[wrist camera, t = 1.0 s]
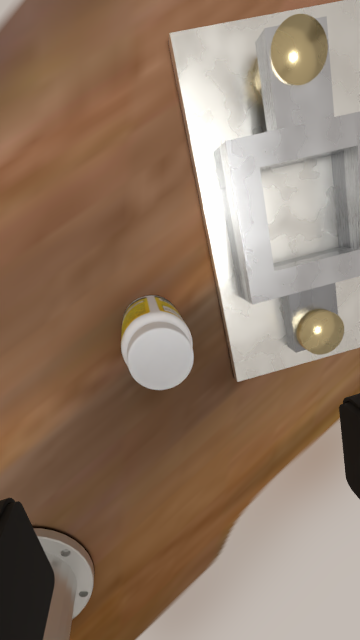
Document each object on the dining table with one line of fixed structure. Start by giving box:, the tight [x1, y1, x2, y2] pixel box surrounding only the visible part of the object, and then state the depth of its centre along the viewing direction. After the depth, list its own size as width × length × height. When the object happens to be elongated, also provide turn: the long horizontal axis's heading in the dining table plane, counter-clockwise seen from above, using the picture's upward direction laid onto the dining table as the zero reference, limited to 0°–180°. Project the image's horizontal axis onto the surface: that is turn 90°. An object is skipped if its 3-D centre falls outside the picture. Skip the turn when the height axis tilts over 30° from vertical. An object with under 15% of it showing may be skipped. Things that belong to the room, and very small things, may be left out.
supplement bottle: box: [121, 295, 194, 390], centre depth 23 cm, size 5×5×8 cm
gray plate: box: [168, 0, 360, 382], centre depth 24 cm, size 26×14×4 cm, turn 13°
